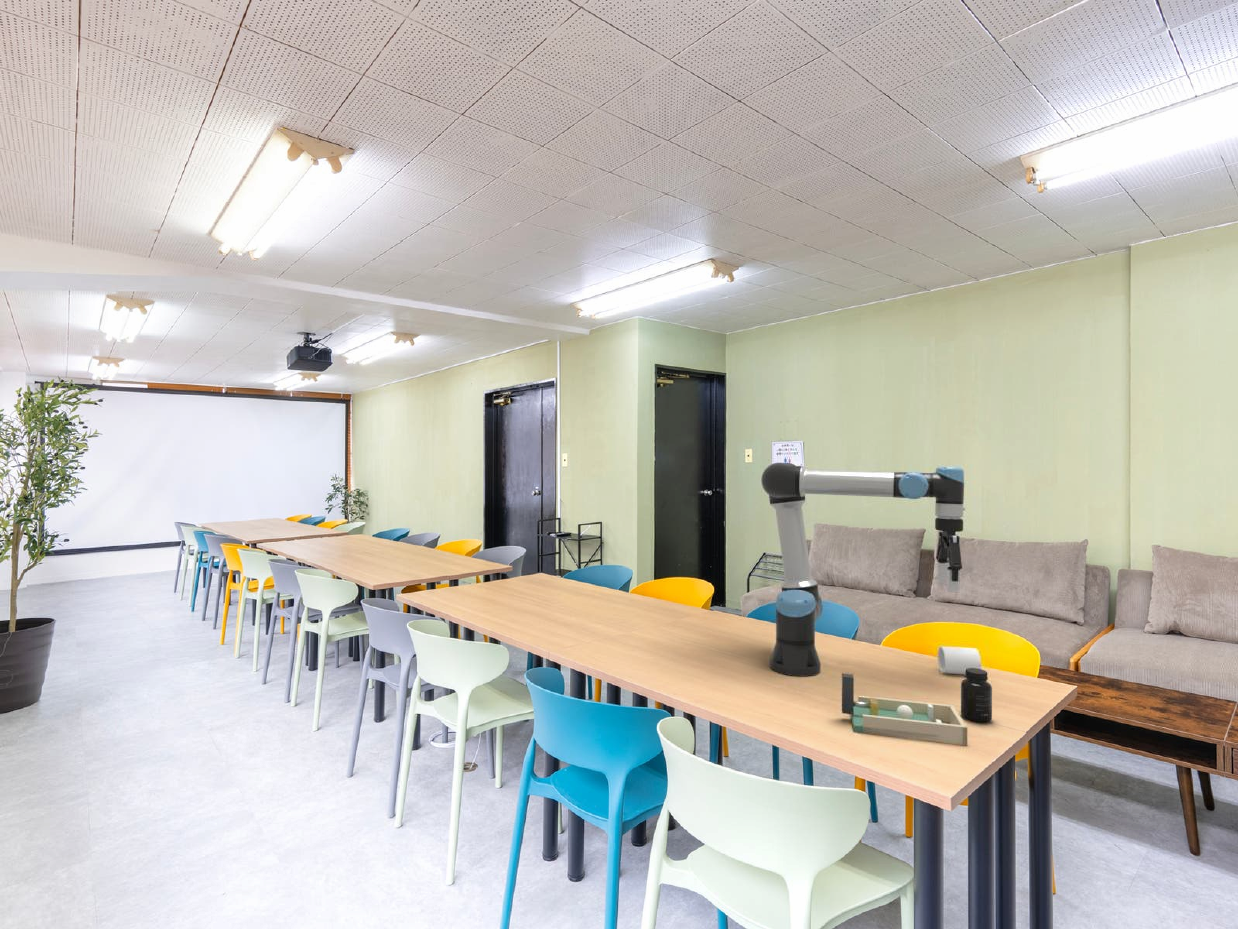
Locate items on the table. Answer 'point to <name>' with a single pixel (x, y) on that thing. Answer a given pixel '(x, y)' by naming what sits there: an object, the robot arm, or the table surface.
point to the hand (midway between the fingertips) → (947, 588)
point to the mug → (958, 659)
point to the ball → (904, 712)
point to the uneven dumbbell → (848, 697)
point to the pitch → (911, 721)
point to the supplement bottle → (976, 696)
